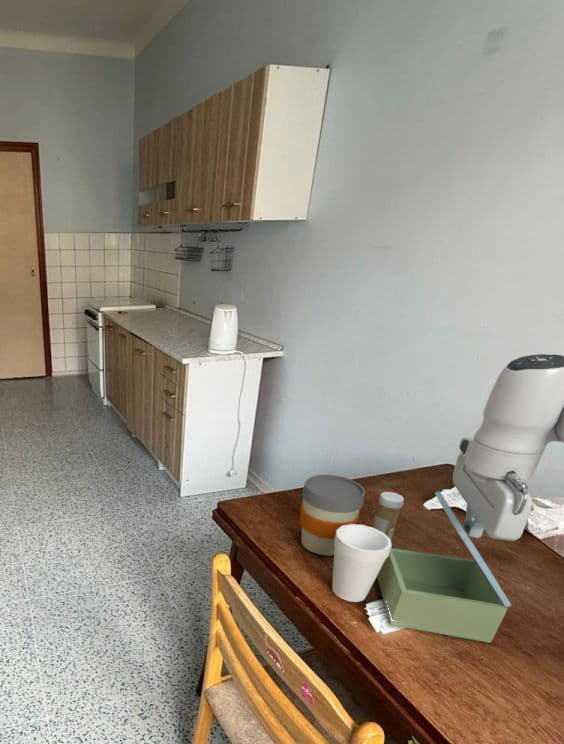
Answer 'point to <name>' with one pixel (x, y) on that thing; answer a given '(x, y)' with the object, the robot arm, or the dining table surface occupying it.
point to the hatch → (473, 549)
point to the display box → (440, 595)
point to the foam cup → (358, 560)
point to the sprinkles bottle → (387, 512)
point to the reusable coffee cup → (328, 510)
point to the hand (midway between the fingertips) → (471, 532)
